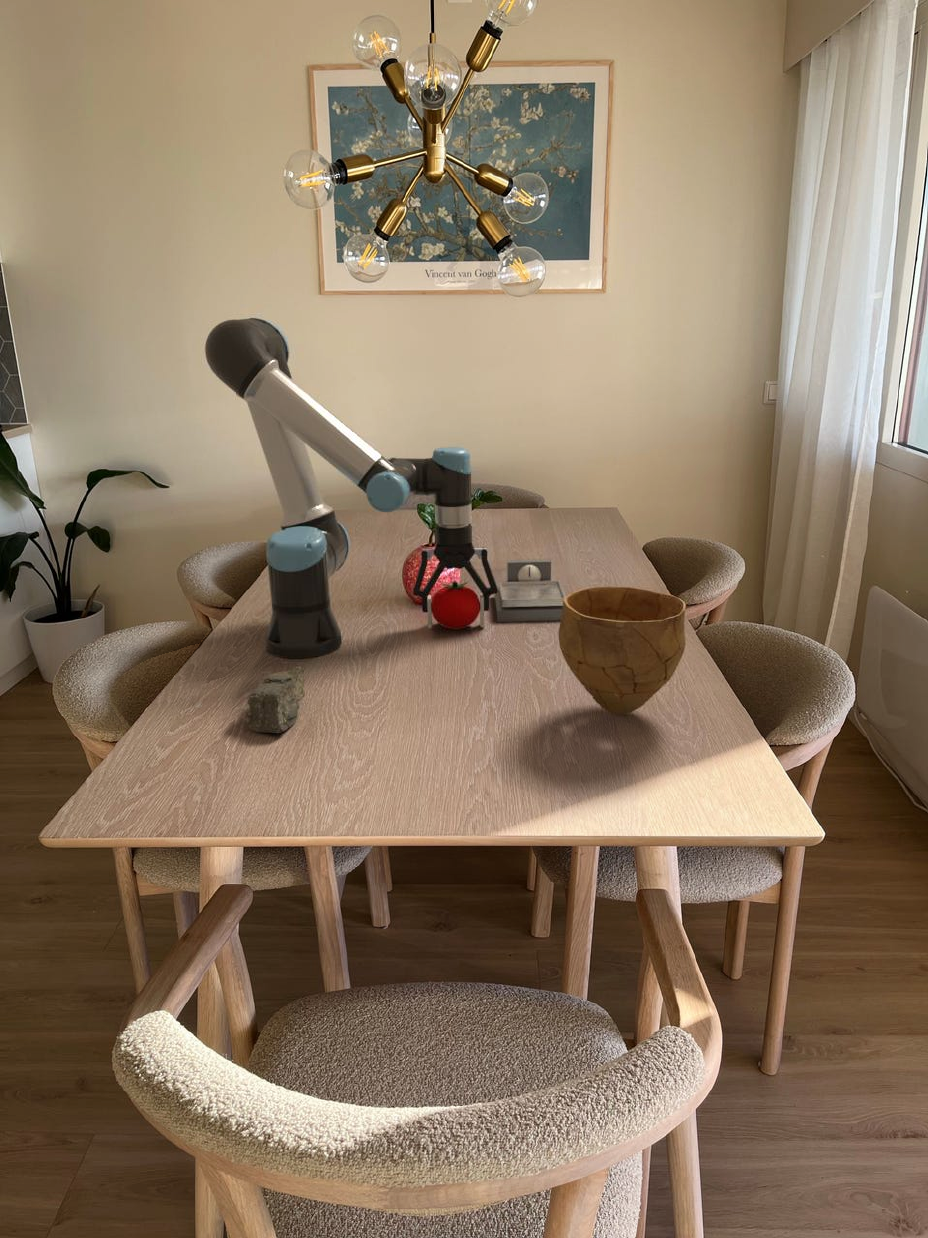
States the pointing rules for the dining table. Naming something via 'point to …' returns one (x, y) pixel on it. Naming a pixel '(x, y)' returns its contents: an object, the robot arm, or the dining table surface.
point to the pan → (531, 593)
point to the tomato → (455, 606)
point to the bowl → (622, 643)
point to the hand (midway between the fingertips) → (456, 625)
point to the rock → (276, 701)
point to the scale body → (527, 572)
